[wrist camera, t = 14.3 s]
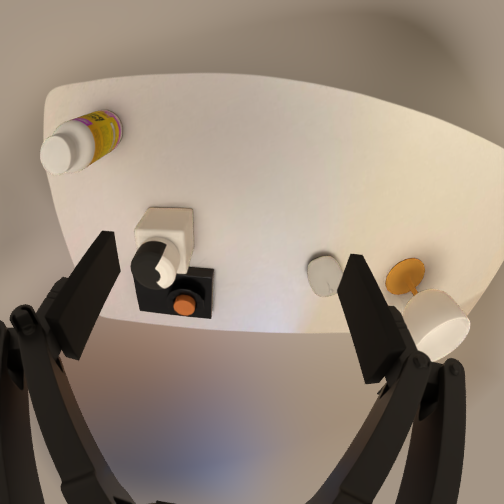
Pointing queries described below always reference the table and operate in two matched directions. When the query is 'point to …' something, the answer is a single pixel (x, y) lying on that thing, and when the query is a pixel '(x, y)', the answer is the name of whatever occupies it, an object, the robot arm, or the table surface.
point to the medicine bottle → (163, 246)
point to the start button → (184, 305)
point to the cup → (428, 312)
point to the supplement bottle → (81, 142)
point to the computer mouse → (324, 276)
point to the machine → (180, 293)
